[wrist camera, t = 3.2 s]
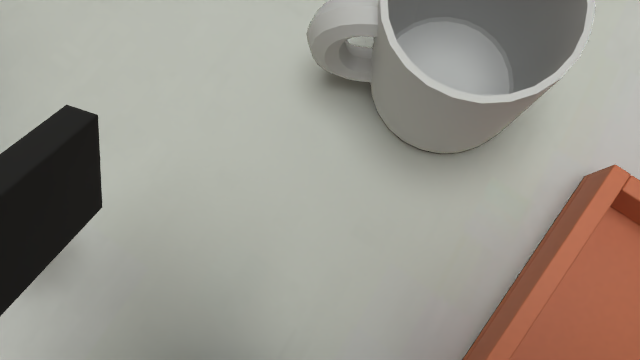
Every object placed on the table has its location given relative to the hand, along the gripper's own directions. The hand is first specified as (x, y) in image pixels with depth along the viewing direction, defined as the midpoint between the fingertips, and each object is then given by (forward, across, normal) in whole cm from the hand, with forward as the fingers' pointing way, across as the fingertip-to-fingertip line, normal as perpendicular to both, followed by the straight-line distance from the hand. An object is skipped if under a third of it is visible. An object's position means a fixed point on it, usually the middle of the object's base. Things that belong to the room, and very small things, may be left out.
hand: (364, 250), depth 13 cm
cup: (+17, 0, -4) cm, 17 cm away
